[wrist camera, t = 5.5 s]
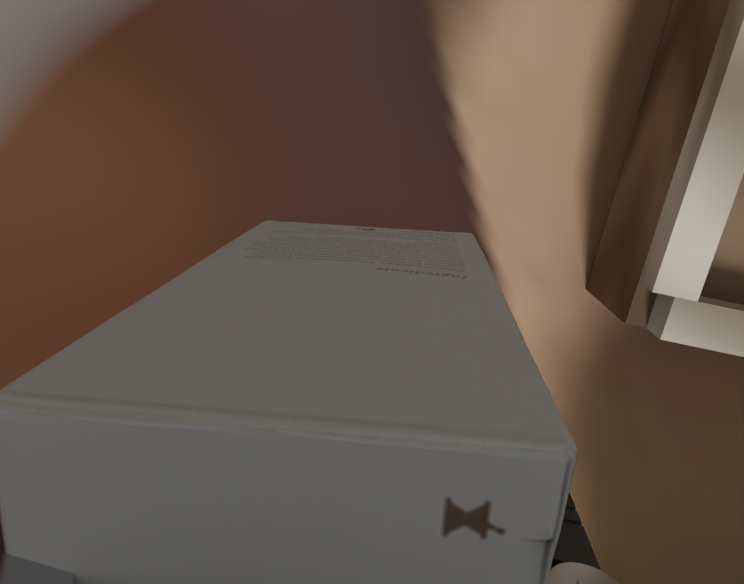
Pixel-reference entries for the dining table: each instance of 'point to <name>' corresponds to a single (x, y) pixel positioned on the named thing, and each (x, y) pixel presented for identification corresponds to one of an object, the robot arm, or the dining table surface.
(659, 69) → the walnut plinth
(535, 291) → the dining table surface
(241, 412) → the small box
